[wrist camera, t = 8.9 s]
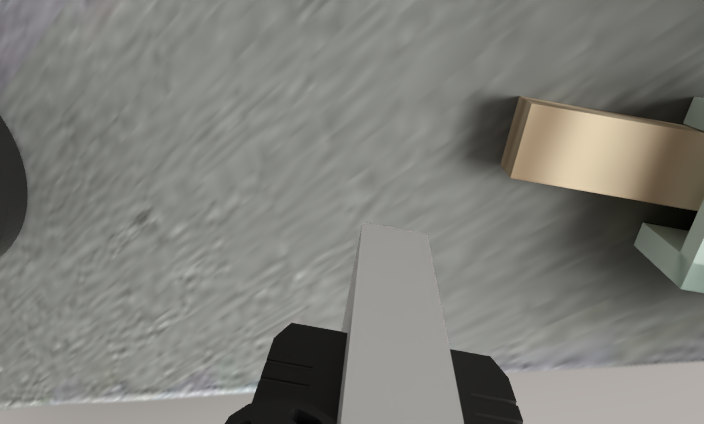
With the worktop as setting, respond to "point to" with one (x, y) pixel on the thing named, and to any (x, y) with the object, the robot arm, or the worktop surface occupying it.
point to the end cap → (679, 234)
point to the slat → (606, 153)
